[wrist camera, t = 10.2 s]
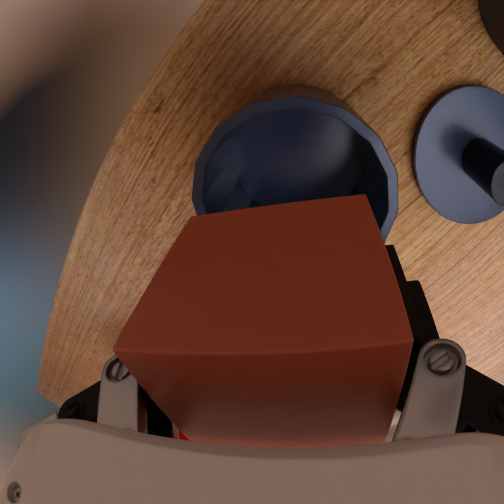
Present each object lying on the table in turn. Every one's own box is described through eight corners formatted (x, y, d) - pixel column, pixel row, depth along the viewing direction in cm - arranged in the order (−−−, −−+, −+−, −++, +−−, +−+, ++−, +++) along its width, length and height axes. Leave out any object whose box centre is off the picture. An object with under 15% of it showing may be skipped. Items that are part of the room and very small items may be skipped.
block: (190, 216, 11) (110, 349, 6) (365, 193, 10) (415, 340, 5) (233, 332, 14) (202, 454, 9) (367, 324, 13) (380, 455, 8)
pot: (210, 101, 22) (167, 124, 15) (359, 77, 19) (390, 86, 12) (244, 227, 28) (223, 291, 21) (373, 212, 25) (396, 276, 18)
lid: (404, 82, 19) (435, 92, 14) (523, 89, 16) (567, 105, 11) (410, 223, 25) (432, 265, 20) (516, 213, 22) (547, 248, 17)
